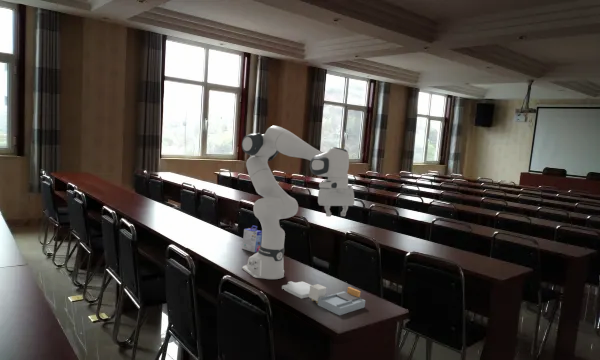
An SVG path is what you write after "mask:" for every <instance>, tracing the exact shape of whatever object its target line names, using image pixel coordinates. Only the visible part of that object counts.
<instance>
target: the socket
mask: <svg viewBox="0 0 600 360" xmlns="http://www.w3.org/2000/svg"><path fill="white" fill-rule="evenodd" d="M345 292H346V291H344V290H343V291H341V292H336V293H332V294H329V295H326V296H325V297H321V298H318V303H317V306H318V307H321V308H323V309H325V310H327V311H329V312H332V313H333V314H335V315H338V316H343V315H345V314H347V313H351V312H355V311H357V310H360V309H364V308H365V307H366V305H365V304H366V300H365V299H363V298H361V299H358V300H354V301H352V300H350V301H346V300H343V299H341V298H339V297H337V296H336V295H338V294H341V293H345Z"/></svg>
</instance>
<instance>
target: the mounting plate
mask: <svg viewBox="0 0 600 360" xmlns="http://www.w3.org/2000/svg"><path fill="white" fill-rule="evenodd" d="M310 286H312V284H310V283H307V282H305V281H298V282H294V281H292V280H291V281H288V282H287V284H283V285H281V290H283V289H284V290H283V291H285V292H287V293H289V294H291V295H293V296H295V297H297V298H300V299H304V298H305V299H306V298H310V297H309V291H310Z"/></svg>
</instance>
